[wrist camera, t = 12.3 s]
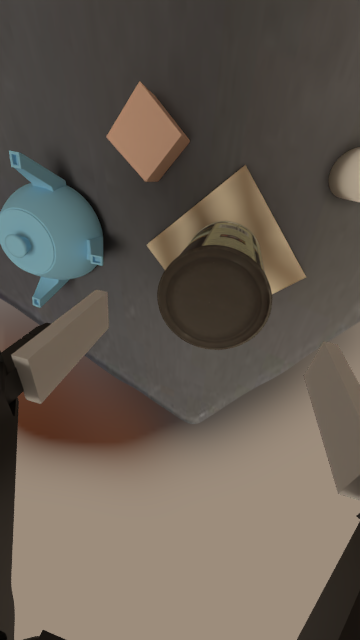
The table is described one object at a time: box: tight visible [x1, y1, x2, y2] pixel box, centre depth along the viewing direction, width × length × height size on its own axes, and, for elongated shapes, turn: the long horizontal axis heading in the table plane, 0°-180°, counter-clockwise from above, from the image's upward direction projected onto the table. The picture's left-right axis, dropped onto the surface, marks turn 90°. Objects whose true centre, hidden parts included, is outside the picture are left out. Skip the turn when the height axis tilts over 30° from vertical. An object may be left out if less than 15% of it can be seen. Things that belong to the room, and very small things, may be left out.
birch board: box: [147, 165, 306, 294], centre depth 34 cm, size 16×16×2 cm
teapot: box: [0, 151, 103, 308], centre depth 33 cm, size 15×15×11 cm
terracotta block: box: [106, 81, 190, 182], centre depth 27 cm, size 6×6×5 cm
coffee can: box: [157, 221, 272, 350], centre depth 27 cm, size 10×10×14 cm
